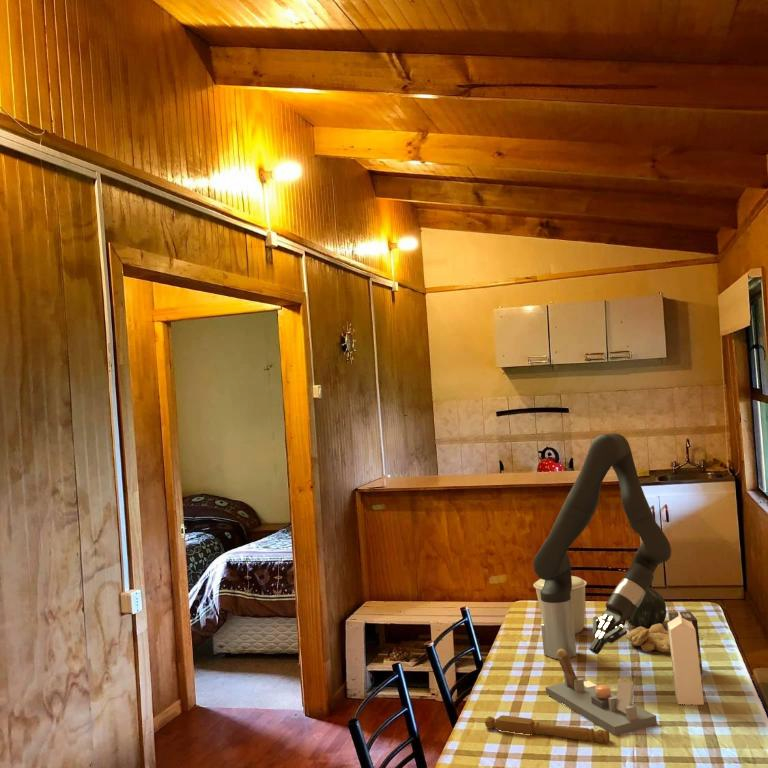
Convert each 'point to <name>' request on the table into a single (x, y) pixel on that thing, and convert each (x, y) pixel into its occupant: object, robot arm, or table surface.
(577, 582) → the canister
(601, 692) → the terracotta button
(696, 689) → the milk
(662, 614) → the squash
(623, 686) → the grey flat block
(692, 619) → the coffee box
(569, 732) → the turned wooden table leg
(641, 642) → the ginger root
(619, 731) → the control panel
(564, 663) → the walnut lever
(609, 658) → the table surface
